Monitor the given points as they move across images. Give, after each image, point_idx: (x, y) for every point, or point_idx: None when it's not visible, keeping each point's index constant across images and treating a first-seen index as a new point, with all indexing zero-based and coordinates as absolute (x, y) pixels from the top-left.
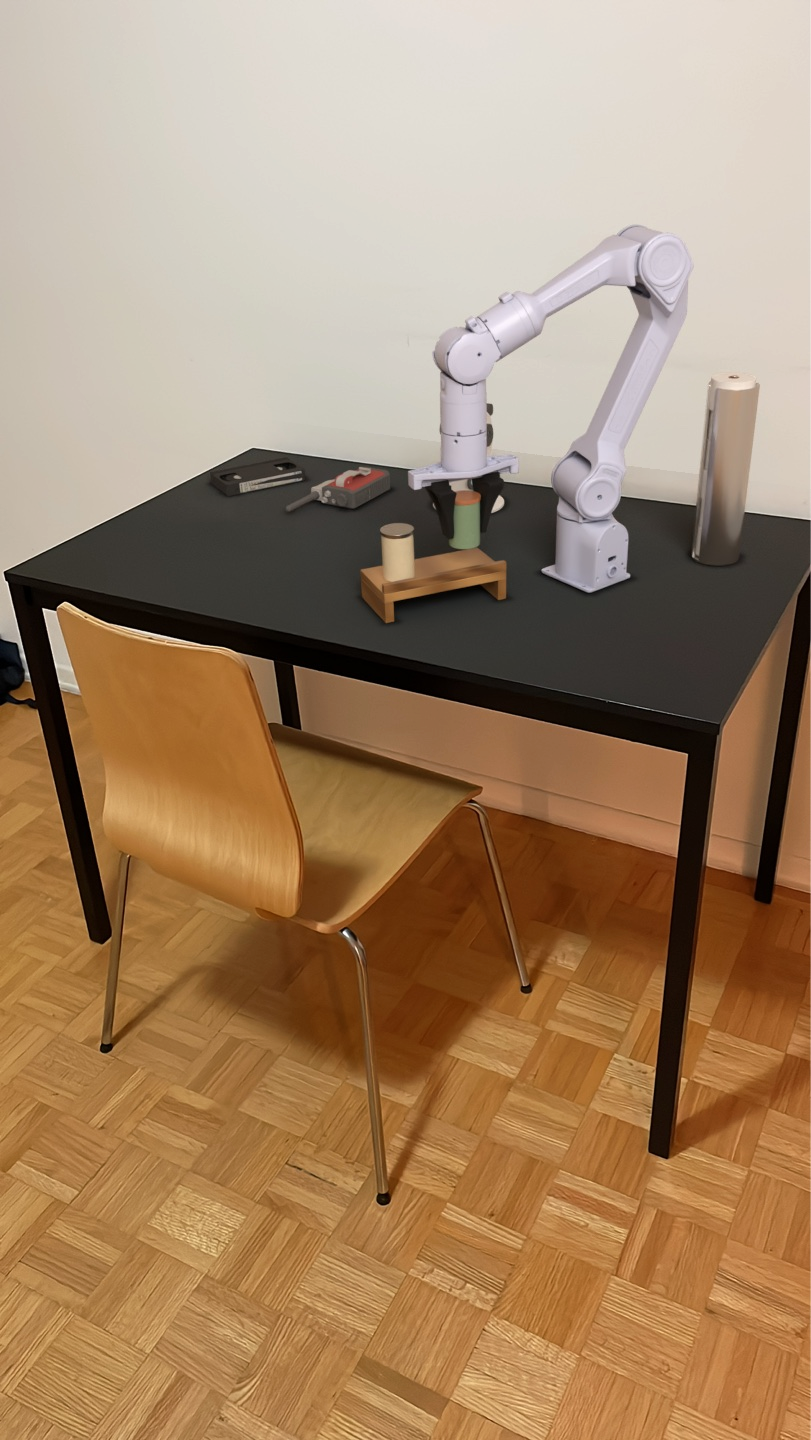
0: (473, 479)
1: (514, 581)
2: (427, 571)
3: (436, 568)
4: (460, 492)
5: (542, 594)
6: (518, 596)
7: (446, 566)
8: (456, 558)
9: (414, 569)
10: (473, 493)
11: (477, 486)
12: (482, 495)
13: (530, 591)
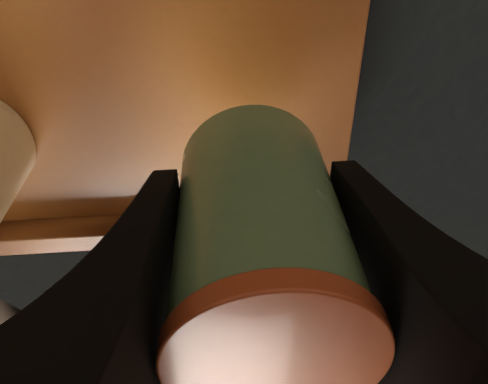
0: (459, 364)
1: (411, 68)
2: (90, 136)
3: (129, 125)
4: (285, 323)
5: (416, 171)
6: (357, 160)
7: (171, 121)
8: (235, 66)
9: (26, 177)
10: (357, 356)
11: (419, 378)
12: (388, 381)
13: (403, 145)
